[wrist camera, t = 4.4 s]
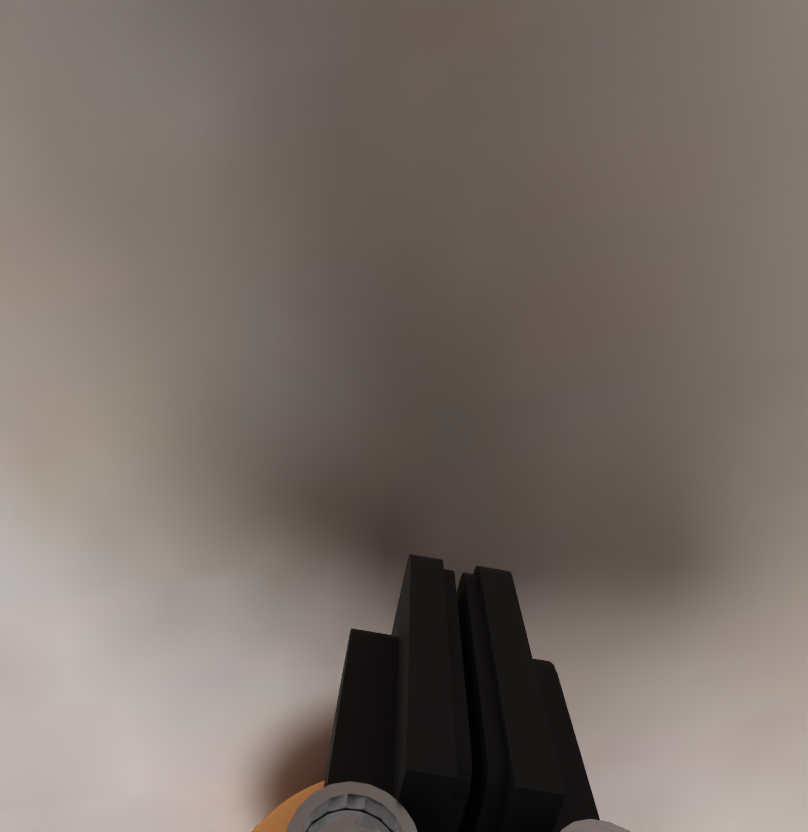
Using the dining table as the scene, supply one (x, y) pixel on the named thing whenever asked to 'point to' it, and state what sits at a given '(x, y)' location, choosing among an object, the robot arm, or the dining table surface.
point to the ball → (286, 811)
